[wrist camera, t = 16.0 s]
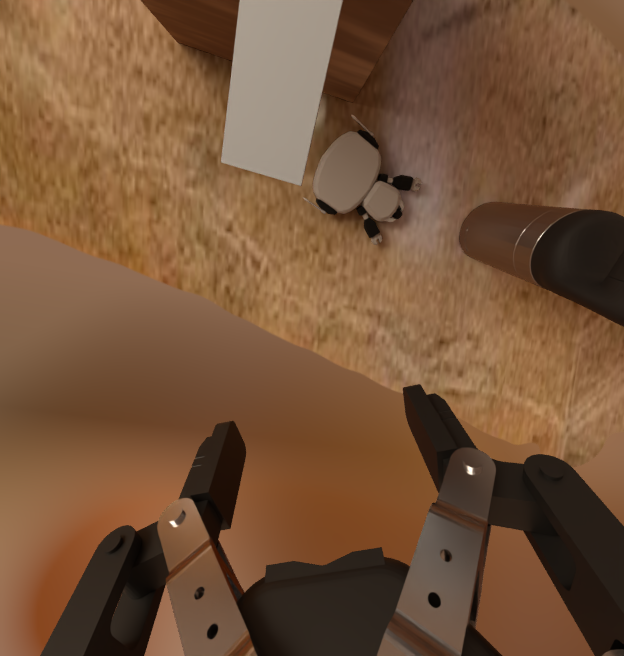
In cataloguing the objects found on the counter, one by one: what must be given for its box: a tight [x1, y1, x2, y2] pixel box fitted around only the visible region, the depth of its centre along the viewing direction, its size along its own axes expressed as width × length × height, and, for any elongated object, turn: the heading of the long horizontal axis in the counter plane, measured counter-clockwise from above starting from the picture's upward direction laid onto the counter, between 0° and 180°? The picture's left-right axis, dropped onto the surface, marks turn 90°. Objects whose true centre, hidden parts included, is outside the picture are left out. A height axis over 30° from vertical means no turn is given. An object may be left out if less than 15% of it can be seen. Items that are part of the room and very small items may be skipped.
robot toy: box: [304, 115, 421, 245], centre depth 44 cm, size 12×4×15 cm
